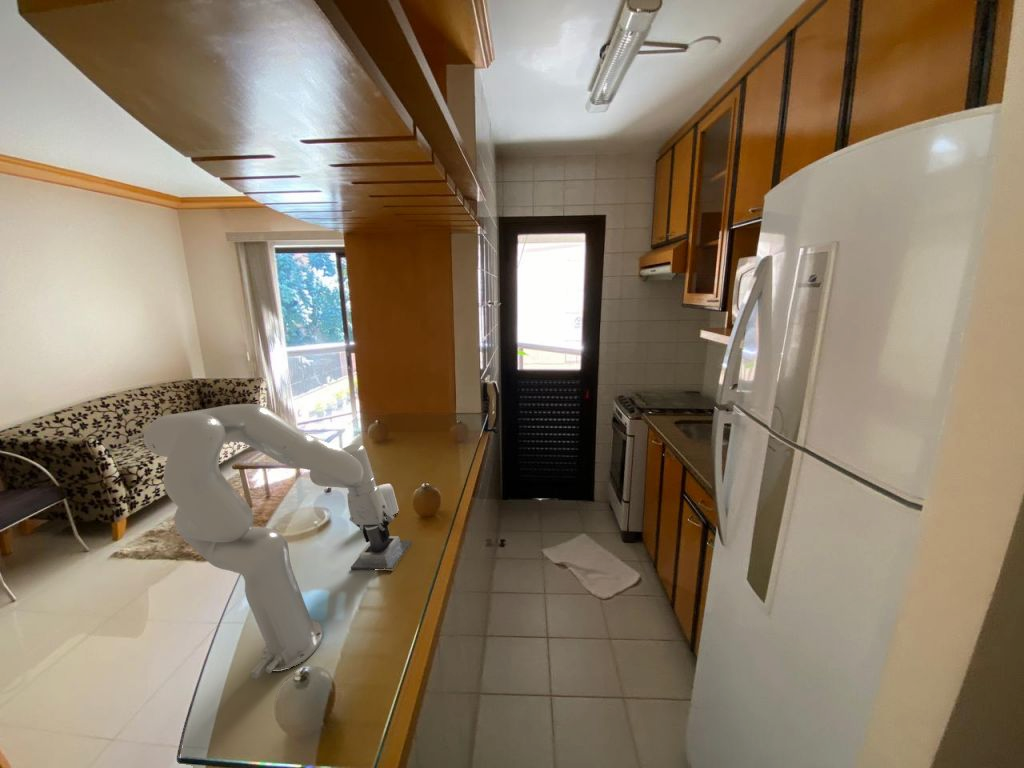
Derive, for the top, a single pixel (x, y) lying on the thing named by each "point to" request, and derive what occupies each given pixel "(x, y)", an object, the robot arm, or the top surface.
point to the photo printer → (389, 498)
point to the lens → (375, 538)
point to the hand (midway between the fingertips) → (377, 538)
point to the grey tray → (382, 555)
